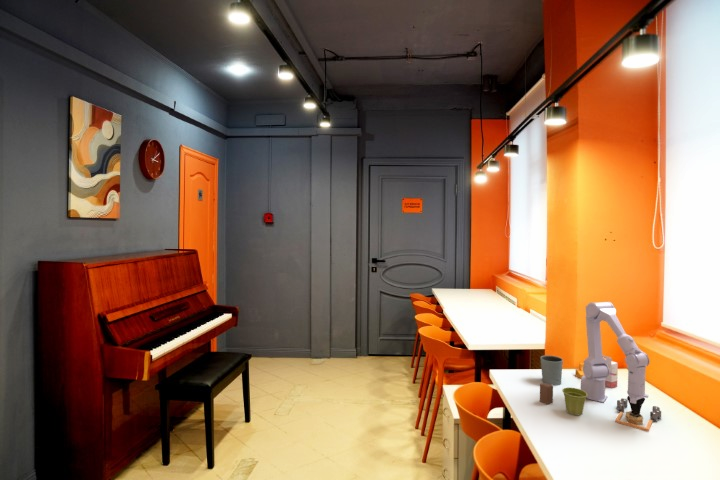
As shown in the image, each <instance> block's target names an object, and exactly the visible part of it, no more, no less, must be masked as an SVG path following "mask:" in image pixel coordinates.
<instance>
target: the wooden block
mask: <svg viewBox="0 0 720 480" xmlns="http://www.w3.org/2000/svg"><path fill="white" fill-rule="evenodd" d="M539 402H541V403H542V404H544V405H550V404H551V405H552V404H553V403H554V385H550V384H548V383H544V382H542V383H540V384H539Z"/></svg>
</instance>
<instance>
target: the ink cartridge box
mask: <svg viewBox="0 0 720 480" xmlns="http://www.w3.org/2000/svg"><path fill="white" fill-rule="evenodd" d="M602 357H603V358H604V359H605V360H606V361H607V364H608V367H609V370H610V374H609V376H608V377H607V379H605V387H607V388H610V389H612V388H617V387H618V371H619V370H618V369H619V368H618V367H619V365H618V362H616V361H613V358H612V357H610V356H606V355H604V354H602Z"/></svg>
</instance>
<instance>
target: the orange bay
mask: <svg viewBox="0 0 720 480" xmlns="http://www.w3.org/2000/svg"><path fill="white" fill-rule="evenodd" d="M623 415H624V413H623V412H618V414H617V416H616V417H615V421H614V422H615V423H616V422H617V423H618V424H621V425H624V426H628V427H631V428H636V429H638V430H641V431H645V432H650V429H651V427H652V424H653V422H654V421H653V420H650V418H649V420H648V421H647V424H646V427H645V426H642V425H635V424H631V423H628V422H627V421H623V420H621V419H622V417H623Z"/></svg>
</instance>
